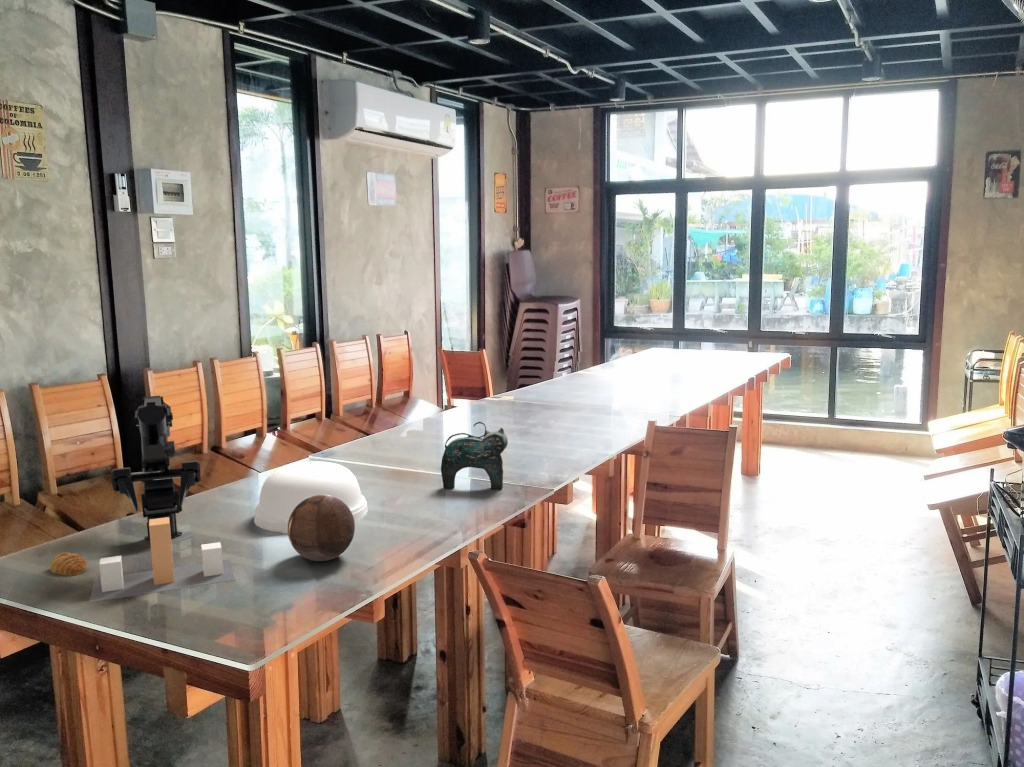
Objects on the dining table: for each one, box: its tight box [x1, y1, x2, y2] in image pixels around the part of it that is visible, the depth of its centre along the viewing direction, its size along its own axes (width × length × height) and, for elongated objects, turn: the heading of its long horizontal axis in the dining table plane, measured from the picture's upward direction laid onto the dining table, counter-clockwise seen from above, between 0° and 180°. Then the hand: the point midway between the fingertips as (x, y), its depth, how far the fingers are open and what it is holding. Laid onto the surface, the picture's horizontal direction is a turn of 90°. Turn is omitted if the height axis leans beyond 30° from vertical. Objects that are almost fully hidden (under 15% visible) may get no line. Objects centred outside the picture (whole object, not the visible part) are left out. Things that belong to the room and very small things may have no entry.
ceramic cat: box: [440, 421, 509, 490], centre depth 254 cm, size 20×6×20 cm, turn 84°
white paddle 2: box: [200, 541, 223, 577], centre depth 188 cm, size 4×4×6 cm
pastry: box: [48, 552, 89, 577], centre depth 192 cm, size 9×7×4 cm
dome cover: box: [253, 460, 369, 535], centre depth 230 cm, size 32×30×14 cm
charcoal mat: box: [89, 559, 235, 603], centre depth 185 cm, size 14×28×1 cm, turn 112°
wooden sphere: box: [287, 495, 356, 562], centre depth 196 cm, size 15×15×15 cm
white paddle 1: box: [98, 555, 124, 592], centre depth 180 cm, size 4×4×6 cm
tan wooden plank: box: [149, 517, 174, 585], centre depth 184 cm, size 5×4×13 cm
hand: (159, 507), depth 191 cm, fingers open, 9 cm apart
